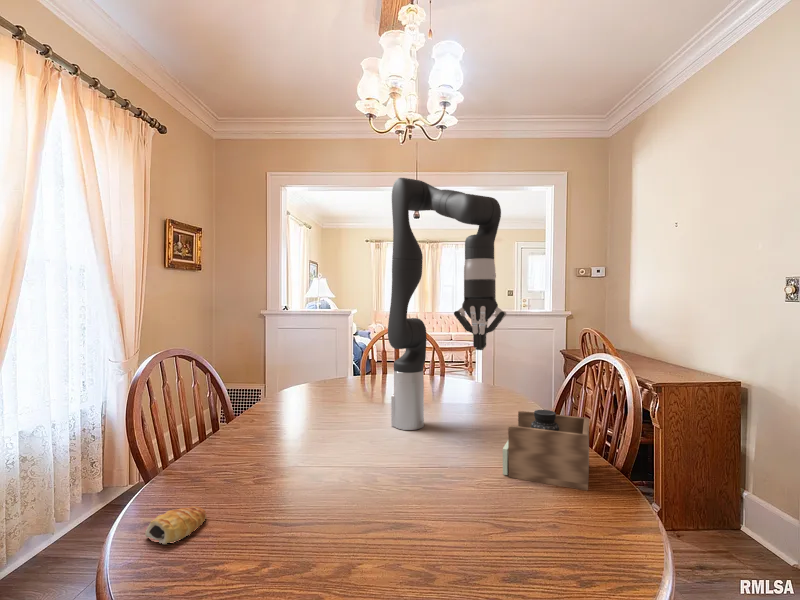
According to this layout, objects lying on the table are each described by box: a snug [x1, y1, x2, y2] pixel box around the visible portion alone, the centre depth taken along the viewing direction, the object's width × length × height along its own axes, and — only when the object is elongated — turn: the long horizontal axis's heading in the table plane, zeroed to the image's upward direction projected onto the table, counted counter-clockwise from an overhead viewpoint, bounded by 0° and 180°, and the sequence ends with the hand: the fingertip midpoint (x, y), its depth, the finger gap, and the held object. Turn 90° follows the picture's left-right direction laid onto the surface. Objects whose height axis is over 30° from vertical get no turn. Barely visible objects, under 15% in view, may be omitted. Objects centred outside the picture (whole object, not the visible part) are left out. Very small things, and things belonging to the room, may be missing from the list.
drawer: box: [502, 440, 509, 476], centre depth 97 cm, size 16×14×6 cm
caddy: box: [507, 410, 590, 491], centre depth 96 cm, size 16×14×11 cm
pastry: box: [144, 505, 207, 545], centre depth 73 cm, size 9×7×4 cm
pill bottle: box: [531, 409, 559, 431], centre depth 97 cm, size 6×6×11 cm
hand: (480, 349), depth 103 cm, fingers closed
